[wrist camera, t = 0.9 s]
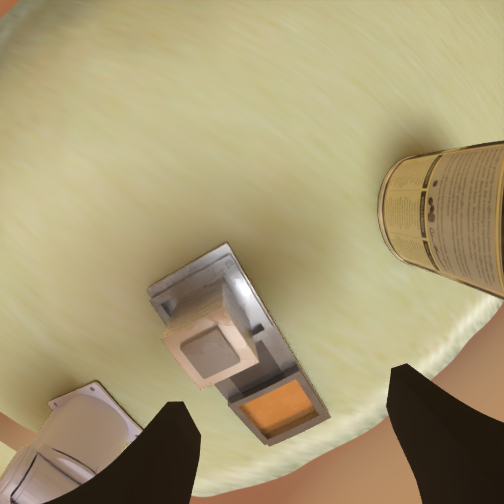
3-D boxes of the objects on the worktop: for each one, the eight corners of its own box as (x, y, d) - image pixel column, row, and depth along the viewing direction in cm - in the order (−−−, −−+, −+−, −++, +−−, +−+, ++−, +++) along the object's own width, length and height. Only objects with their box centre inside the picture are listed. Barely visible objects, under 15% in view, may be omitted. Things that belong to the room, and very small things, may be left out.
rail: (268, 440, 25) (270, 453, 23) (149, 286, 21) (142, 294, 19) (328, 411, 25) (334, 423, 23) (226, 241, 21) (227, 245, 19)
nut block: (205, 344, 21) (200, 393, 15) (176, 303, 20) (159, 342, 14) (249, 321, 21) (260, 365, 15) (222, 277, 20) (222, 309, 14)
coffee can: (430, 138, 21) (549, 115, 7) (465, 230, 23) (573, 252, 9) (355, 185, 21) (498, 176, 7) (401, 287, 23) (518, 350, 9)
